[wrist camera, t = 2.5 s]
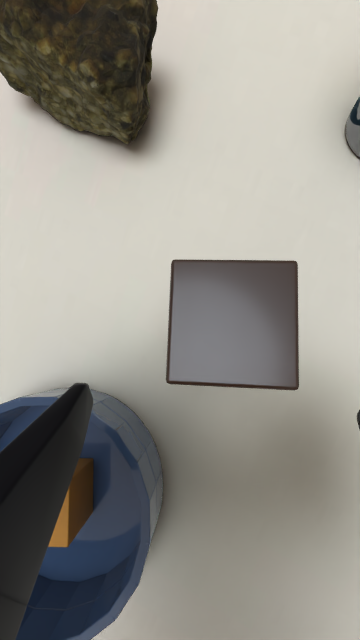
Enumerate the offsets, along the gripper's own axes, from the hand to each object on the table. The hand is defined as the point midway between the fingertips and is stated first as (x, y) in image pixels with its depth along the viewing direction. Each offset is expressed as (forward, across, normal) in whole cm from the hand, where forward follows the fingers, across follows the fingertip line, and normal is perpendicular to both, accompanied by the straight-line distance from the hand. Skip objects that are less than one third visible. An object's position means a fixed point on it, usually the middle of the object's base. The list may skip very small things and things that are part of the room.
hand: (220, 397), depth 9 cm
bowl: (+2, +9, +12) cm, 16 cm away
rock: (+22, +10, -8) cm, 26 cm away
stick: (+9, 0, +6) cm, 10 cm away
